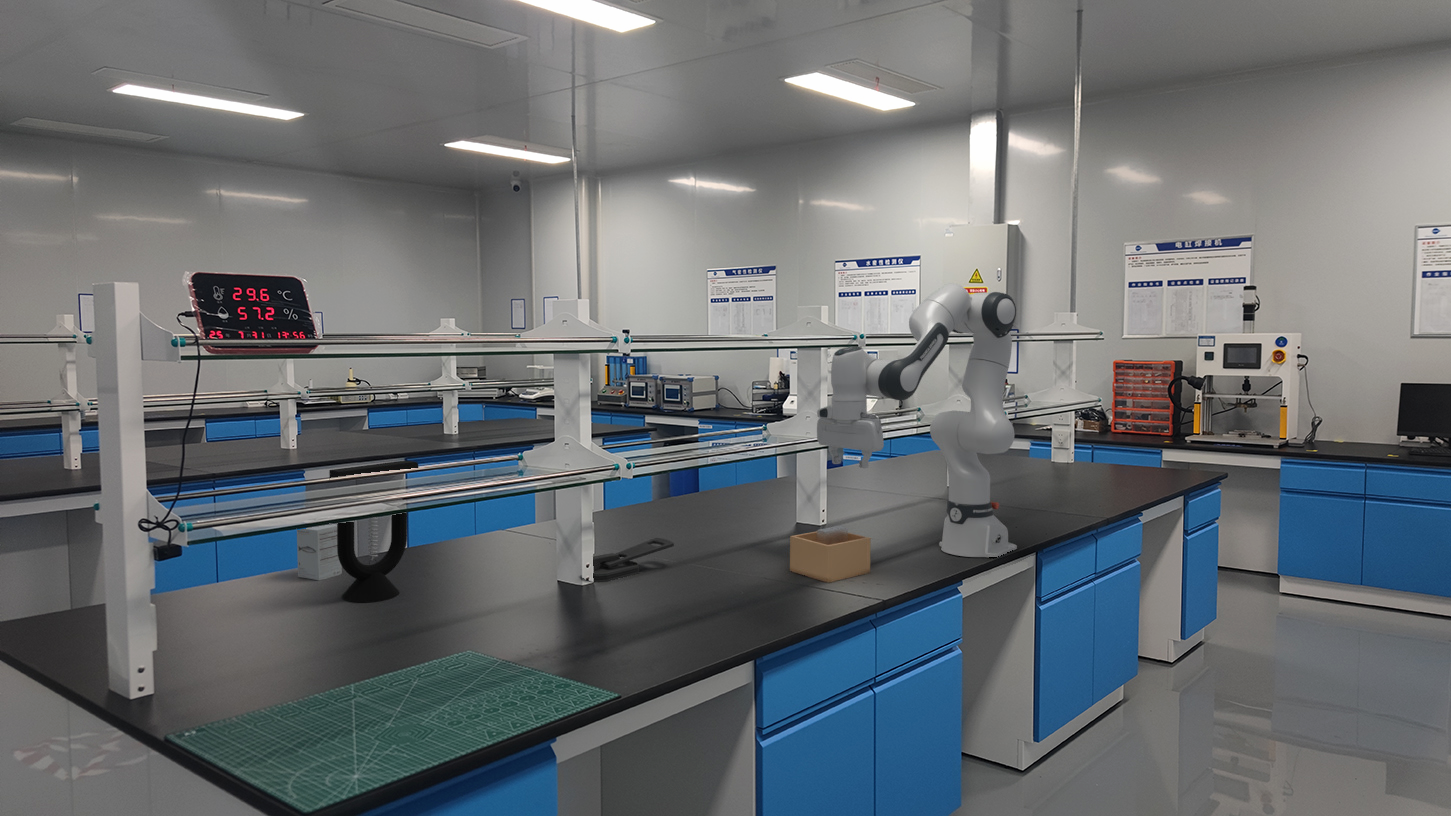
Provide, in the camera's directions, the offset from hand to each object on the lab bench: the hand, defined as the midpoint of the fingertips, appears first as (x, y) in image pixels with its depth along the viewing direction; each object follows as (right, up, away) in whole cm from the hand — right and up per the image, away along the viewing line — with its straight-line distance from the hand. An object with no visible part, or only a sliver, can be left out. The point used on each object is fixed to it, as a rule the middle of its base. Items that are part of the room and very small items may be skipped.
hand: (850, 465), depth 228 cm
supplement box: (-132, -27, -6) cm, 135 cm away
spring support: (-112, -28, -21) cm, 118 cm away
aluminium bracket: (-6, -26, +1) cm, 26 cm away
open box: (-5, -27, 0) cm, 27 cm away
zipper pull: (-56, -27, -1) cm, 63 cm away
